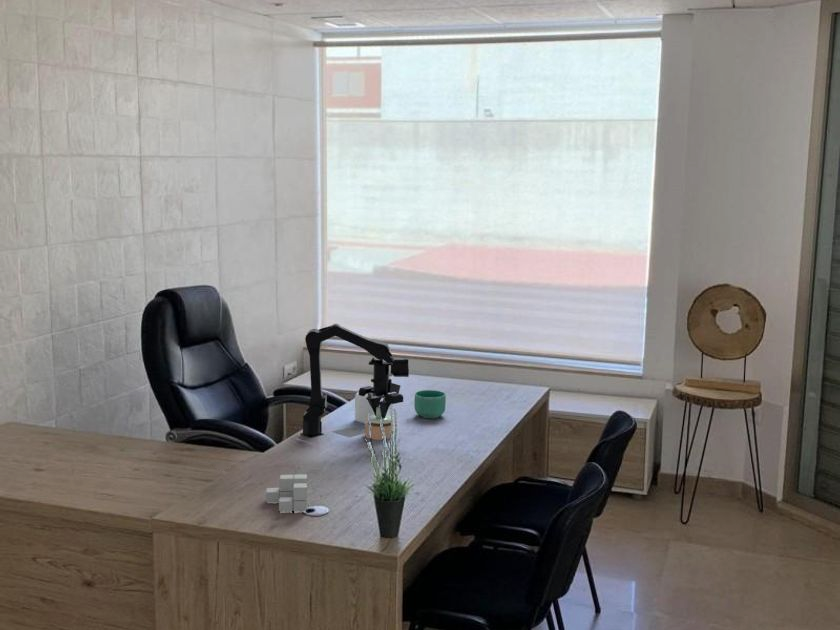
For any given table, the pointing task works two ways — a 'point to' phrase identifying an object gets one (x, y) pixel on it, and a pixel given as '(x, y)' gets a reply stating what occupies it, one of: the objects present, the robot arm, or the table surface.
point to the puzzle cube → (290, 493)
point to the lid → (379, 417)
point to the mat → (349, 431)
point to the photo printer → (362, 408)
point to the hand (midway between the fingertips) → (380, 417)
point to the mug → (430, 403)
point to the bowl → (377, 430)
